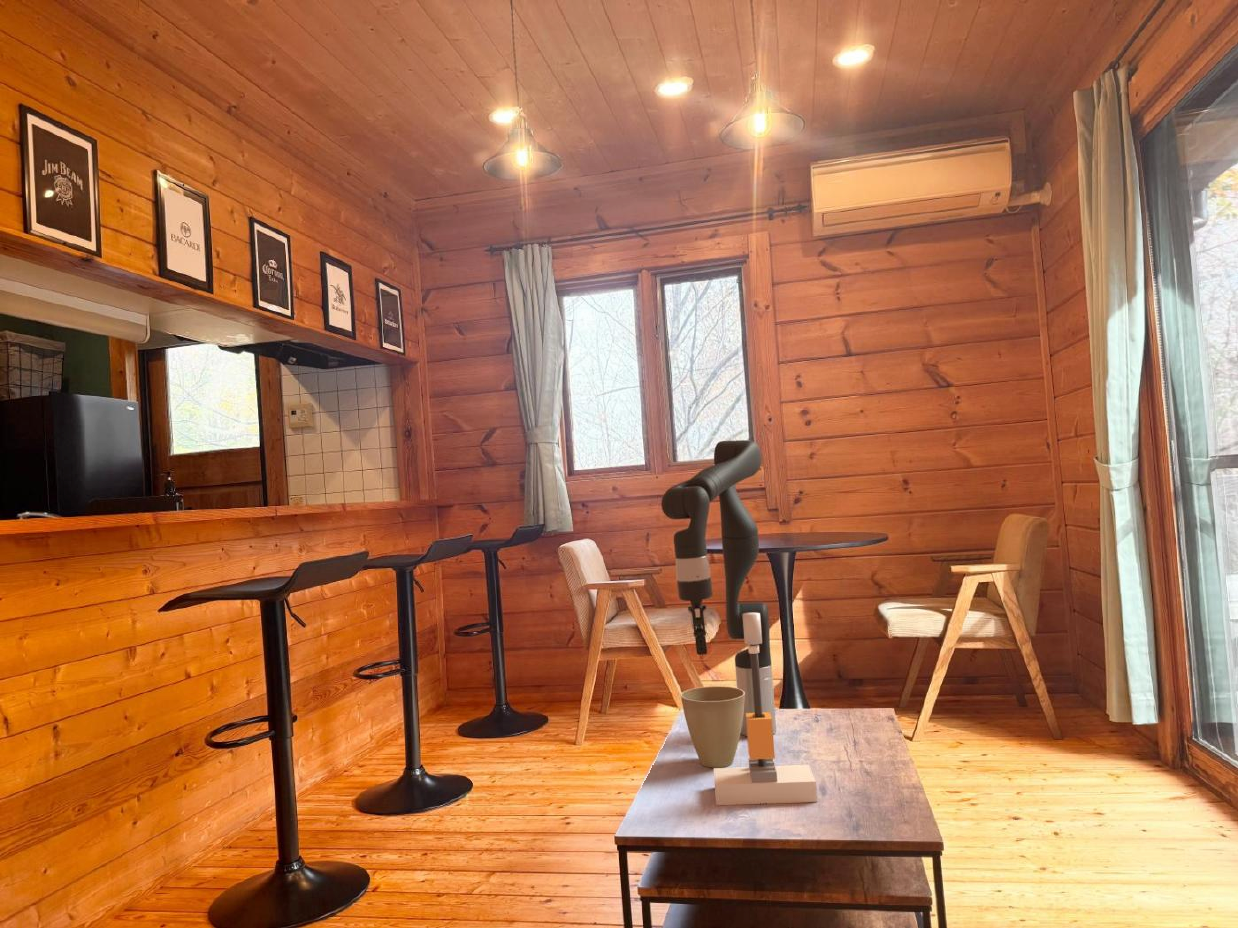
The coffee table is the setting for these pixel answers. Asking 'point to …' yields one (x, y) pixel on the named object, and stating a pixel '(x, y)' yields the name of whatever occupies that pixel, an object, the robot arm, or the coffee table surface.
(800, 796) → the stand
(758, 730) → the sleeve
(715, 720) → the plant pot
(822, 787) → the coffee table surface
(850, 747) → the coffee table surface
